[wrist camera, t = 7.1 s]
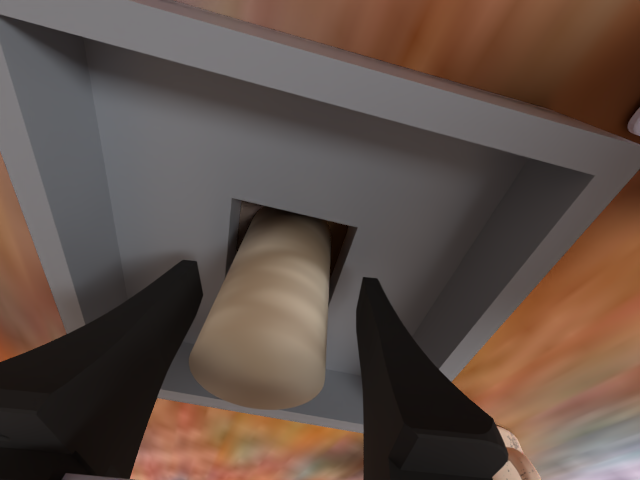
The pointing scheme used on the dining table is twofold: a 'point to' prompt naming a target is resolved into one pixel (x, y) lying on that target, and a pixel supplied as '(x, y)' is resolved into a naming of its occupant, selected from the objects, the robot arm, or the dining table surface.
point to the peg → (269, 316)
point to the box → (284, 175)
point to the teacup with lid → (515, 461)
